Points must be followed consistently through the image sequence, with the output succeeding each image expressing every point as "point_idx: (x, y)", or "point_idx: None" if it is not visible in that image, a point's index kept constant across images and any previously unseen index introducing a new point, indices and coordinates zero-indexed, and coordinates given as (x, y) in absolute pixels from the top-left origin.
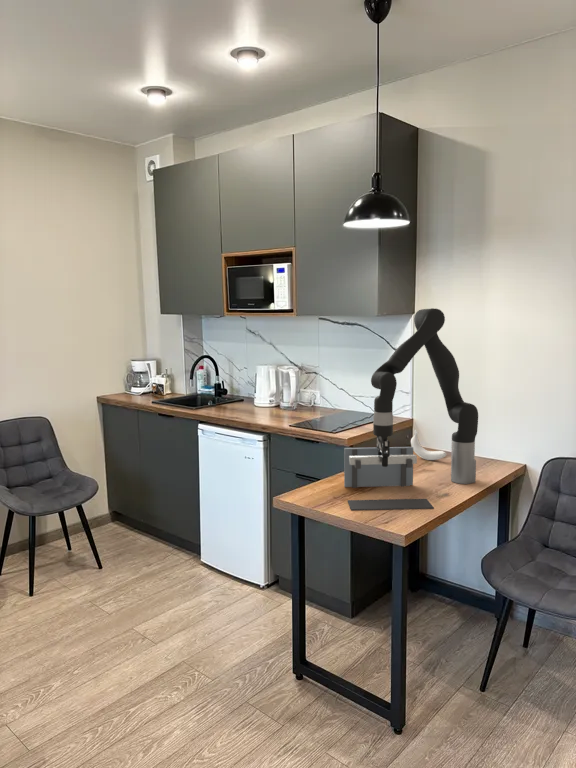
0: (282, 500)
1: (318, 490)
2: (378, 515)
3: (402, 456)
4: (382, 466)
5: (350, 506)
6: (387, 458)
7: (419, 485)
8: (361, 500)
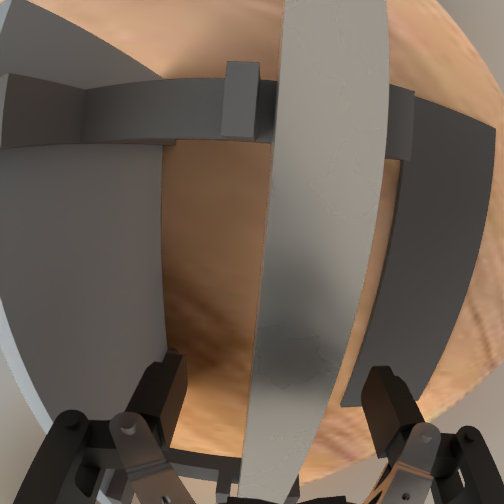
0: None
1: (208, 445)
2: (479, 333)
3: (375, 223)
4: (113, 288)
5: None
6: (410, 416)
7: (169, 49)
8: (361, 372)
